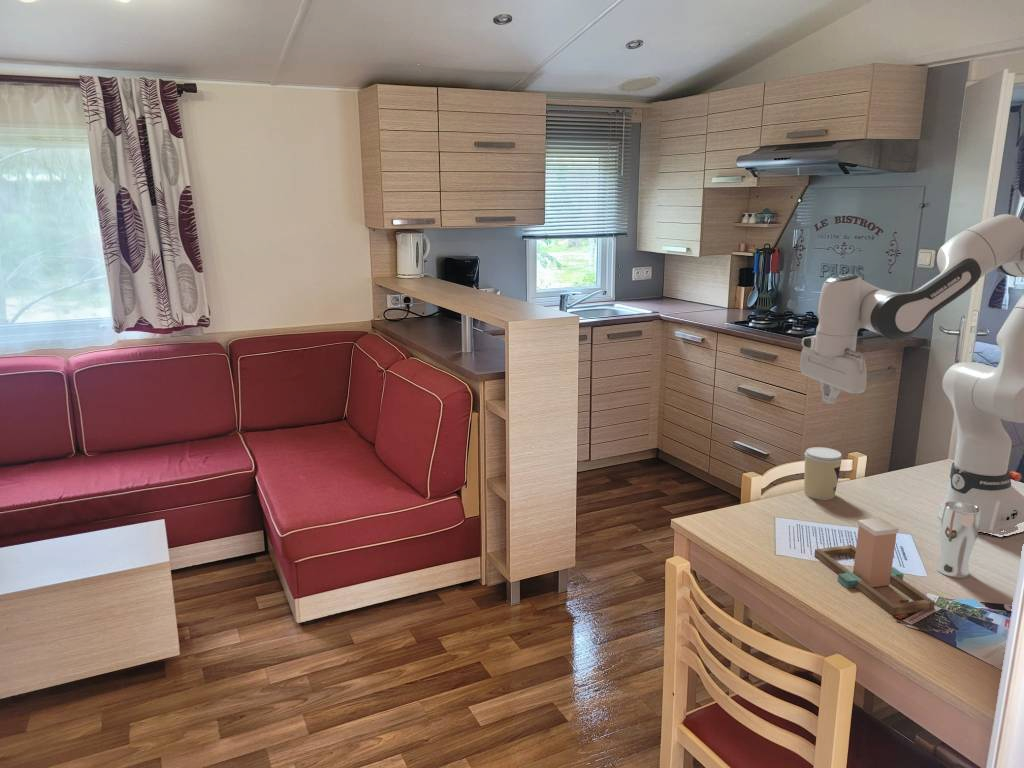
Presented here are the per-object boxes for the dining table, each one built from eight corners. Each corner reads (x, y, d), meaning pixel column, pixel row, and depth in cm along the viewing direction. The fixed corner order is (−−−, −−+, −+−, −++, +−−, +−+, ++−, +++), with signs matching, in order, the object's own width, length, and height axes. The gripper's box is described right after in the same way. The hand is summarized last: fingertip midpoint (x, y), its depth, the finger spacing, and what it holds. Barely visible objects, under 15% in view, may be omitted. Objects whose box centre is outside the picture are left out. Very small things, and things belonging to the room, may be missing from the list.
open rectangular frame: (858, 550, 170) (859, 544, 170) (942, 608, 147) (943, 600, 146) (806, 556, 168) (807, 550, 167) (883, 616, 144) (884, 609, 144)
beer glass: (970, 582, 156) (981, 516, 153) (932, 573, 160) (942, 509, 156) (971, 568, 162) (982, 504, 158) (934, 560, 166) (944, 497, 162)
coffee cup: (841, 502, 197) (846, 459, 194) (803, 499, 199) (808, 457, 196) (833, 489, 206) (838, 447, 203) (798, 486, 207) (802, 445, 204)
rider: (873, 572, 160) (880, 517, 157) (890, 585, 155) (898, 528, 152) (851, 575, 159) (858, 520, 156) (868, 588, 154) (875, 531, 151)
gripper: (877, 353, 164) (870, 413, 167) (820, 336, 183) (815, 390, 187) (852, 354, 163) (845, 415, 166) (797, 337, 182) (792, 392, 185)
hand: (829, 402), depth 177 cm, fingers closed
